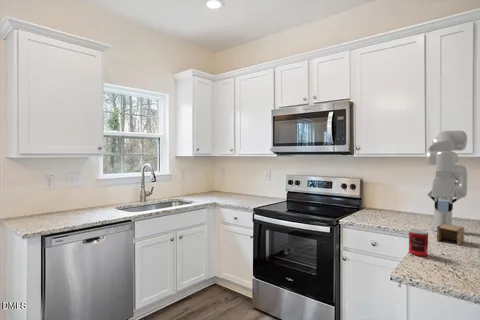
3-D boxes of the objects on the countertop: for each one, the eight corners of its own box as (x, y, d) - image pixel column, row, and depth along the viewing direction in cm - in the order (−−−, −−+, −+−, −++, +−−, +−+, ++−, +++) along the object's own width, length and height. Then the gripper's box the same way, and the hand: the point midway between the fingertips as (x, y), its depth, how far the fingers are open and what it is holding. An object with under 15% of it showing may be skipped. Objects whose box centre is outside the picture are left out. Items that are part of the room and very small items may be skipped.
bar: (440, 208, 163) (441, 199, 163) (450, 209, 160) (451, 200, 160) (437, 211, 154) (437, 201, 154) (448, 212, 151) (448, 202, 151)
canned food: (420, 251, 145) (421, 229, 145) (431, 257, 137) (432, 233, 137) (404, 251, 145) (405, 228, 144) (415, 257, 137) (415, 233, 136)
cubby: (442, 237, 173) (442, 224, 173) (463, 241, 166) (463, 227, 166) (436, 241, 165) (437, 226, 165) (458, 245, 158) (459, 230, 158)
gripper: (466, 176, 150) (465, 212, 150) (427, 174, 163) (426, 207, 163) (463, 176, 145) (462, 213, 145) (423, 174, 157) (422, 208, 158)
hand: (443, 210), depth 154 cm, fingers closed on bar, 4 cm apart
